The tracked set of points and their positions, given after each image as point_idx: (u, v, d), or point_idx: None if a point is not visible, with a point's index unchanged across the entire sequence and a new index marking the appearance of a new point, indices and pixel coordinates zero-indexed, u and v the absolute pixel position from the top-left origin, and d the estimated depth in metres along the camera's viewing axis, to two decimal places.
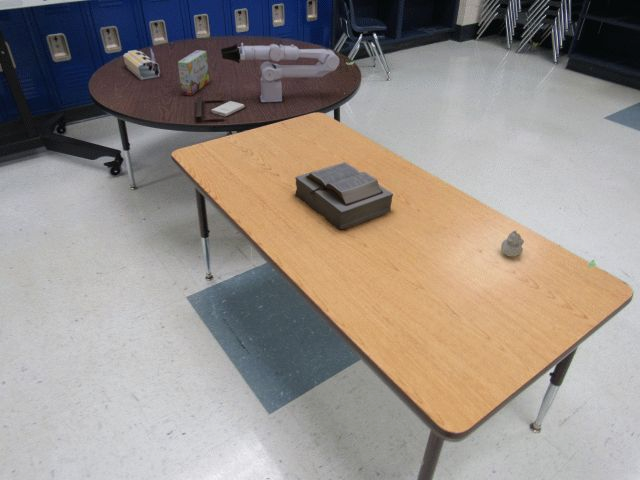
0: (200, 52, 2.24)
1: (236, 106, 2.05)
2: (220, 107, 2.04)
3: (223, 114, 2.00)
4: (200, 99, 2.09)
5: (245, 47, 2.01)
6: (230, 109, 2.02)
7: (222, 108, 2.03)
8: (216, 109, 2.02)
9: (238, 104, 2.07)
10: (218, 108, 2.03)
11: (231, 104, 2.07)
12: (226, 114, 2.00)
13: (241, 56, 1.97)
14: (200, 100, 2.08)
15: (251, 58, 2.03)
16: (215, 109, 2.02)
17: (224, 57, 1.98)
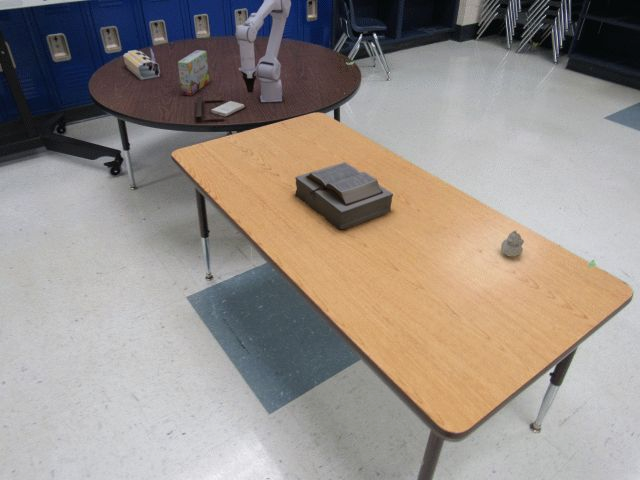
0: (200, 52, 2.24)
1: (236, 106, 2.05)
2: (220, 107, 2.04)
3: (223, 114, 2.00)
4: (200, 99, 2.09)
5: (242, 67, 1.95)
6: (230, 109, 2.02)
7: (222, 108, 2.03)
8: (216, 109, 2.02)
9: (238, 104, 2.07)
10: (218, 108, 2.03)
11: (231, 104, 2.07)
12: (226, 114, 2.00)
13: (248, 77, 1.92)
14: (200, 100, 2.08)
15: (252, 61, 1.94)
16: (215, 109, 2.02)
17: (251, 90, 1.99)
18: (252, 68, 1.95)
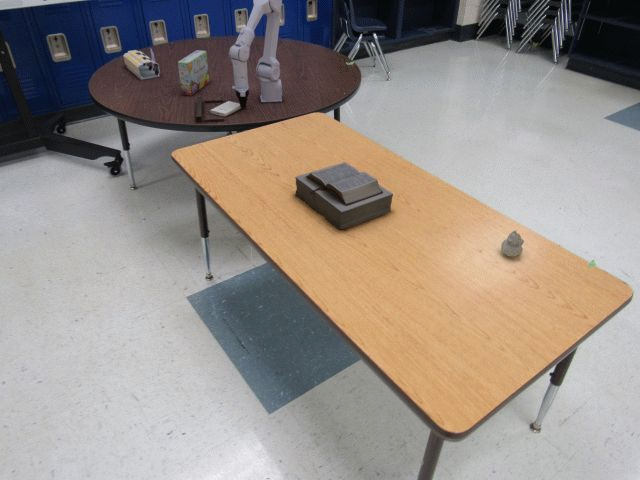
0: (200, 52, 2.24)
1: (235, 106, 2.05)
2: (219, 107, 2.04)
3: (222, 114, 1.99)
4: (200, 99, 2.09)
5: (235, 85, 1.99)
6: (229, 109, 2.02)
7: (221, 108, 2.03)
8: (215, 109, 2.02)
9: (237, 104, 2.07)
10: (217, 108, 2.03)
11: (230, 104, 2.07)
12: (225, 114, 1.99)
13: (242, 95, 1.96)
14: (200, 100, 2.08)
15: (245, 80, 1.97)
16: (214, 109, 2.02)
17: (244, 106, 2.05)
18: (245, 86, 1.99)
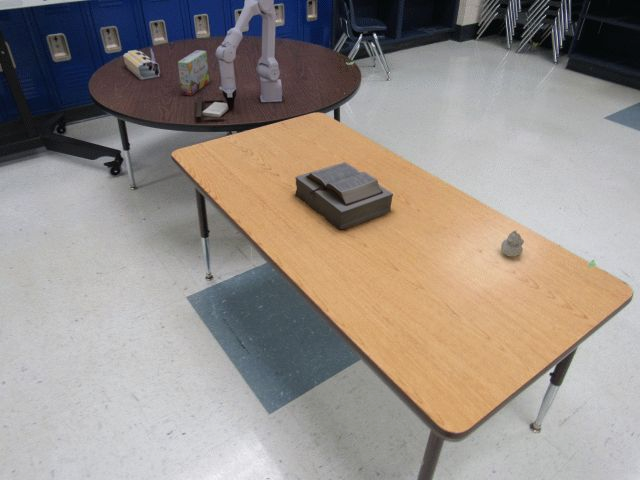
0: (200, 52, 2.24)
1: (225, 106, 2.05)
2: (209, 109, 2.02)
3: (217, 115, 1.99)
4: (200, 99, 2.09)
5: (222, 86, 1.98)
6: (221, 109, 2.02)
7: (212, 109, 2.02)
8: (207, 111, 2.00)
9: (225, 104, 2.07)
10: (208, 110, 2.01)
11: (218, 104, 2.06)
12: (220, 115, 1.99)
13: (229, 96, 1.95)
14: (200, 100, 2.08)
15: (232, 81, 1.97)
16: (206, 111, 2.00)
17: (232, 106, 2.04)
18: (232, 87, 1.98)
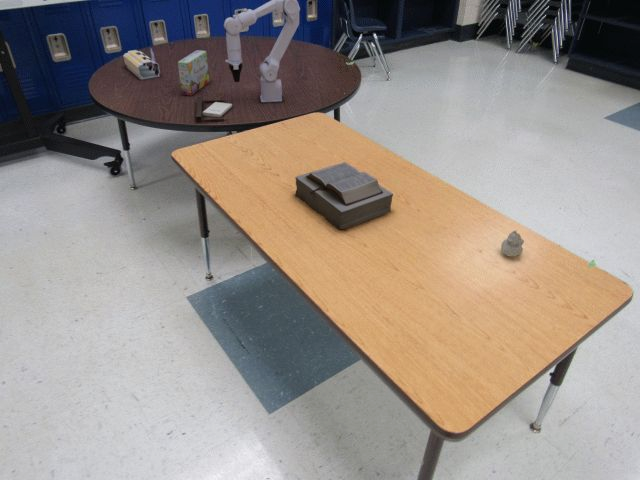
0: (200, 52, 2.24)
1: (225, 106, 2.05)
2: (210, 109, 2.02)
3: (217, 115, 1.99)
4: (200, 99, 2.09)
5: (228, 58, 2.01)
6: (221, 109, 2.02)
7: (212, 109, 2.02)
8: (207, 111, 2.00)
9: (226, 104, 2.07)
10: (208, 110, 2.01)
11: (219, 104, 2.06)
12: (220, 115, 1.99)
13: (235, 68, 1.98)
14: (200, 100, 2.08)
15: (238, 53, 1.99)
16: (206, 111, 2.00)
17: (238, 80, 2.07)
18: (238, 60, 2.01)
